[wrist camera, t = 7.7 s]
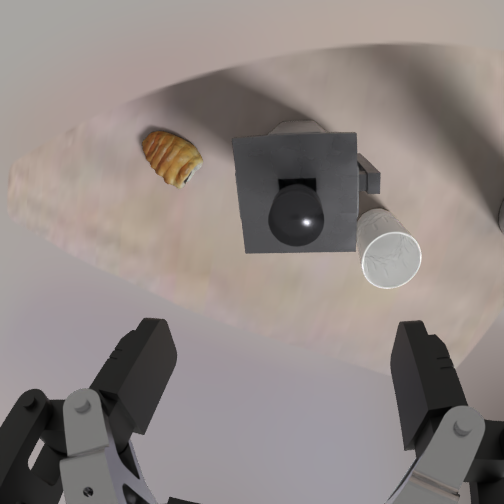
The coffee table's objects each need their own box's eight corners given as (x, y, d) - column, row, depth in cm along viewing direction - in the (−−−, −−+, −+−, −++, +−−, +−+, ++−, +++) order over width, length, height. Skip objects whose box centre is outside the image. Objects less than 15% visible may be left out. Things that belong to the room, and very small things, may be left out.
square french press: (353, 119, 37) (391, 133, 21) (355, 190, 42) (386, 251, 25) (260, 122, 40) (228, 138, 23) (267, 193, 44) (242, 254, 28)
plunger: (334, 133, 31) (358, 158, 17) (336, 203, 34) (355, 274, 21) (260, 136, 32) (227, 163, 19) (266, 205, 36) (242, 275, 22)
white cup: (352, 254, 46) (361, 291, 38) (350, 205, 43) (361, 234, 34) (400, 250, 45) (418, 285, 36) (401, 202, 41) (423, 229, 33)
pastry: (139, 153, 44) (127, 158, 41) (161, 118, 42) (150, 120, 38) (185, 189, 46) (175, 197, 43) (210, 155, 43) (202, 159, 40)
